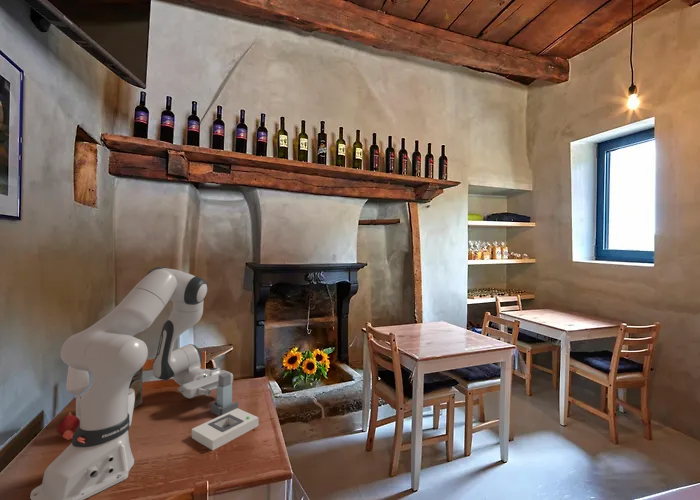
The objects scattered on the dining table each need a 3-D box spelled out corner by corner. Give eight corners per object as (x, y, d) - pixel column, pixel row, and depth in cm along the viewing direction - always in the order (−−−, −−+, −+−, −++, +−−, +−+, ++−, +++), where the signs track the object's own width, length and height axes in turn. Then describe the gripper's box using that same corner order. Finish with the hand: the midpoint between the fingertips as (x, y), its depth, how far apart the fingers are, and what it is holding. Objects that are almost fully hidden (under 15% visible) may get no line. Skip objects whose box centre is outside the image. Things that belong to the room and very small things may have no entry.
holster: (221, 417, 126) (221, 409, 126) (209, 411, 131) (209, 403, 131) (238, 409, 132) (238, 402, 132) (226, 404, 137) (226, 397, 136)
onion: (56, 443, 109) (56, 419, 109) (58, 435, 114) (58, 411, 113) (79, 437, 112) (79, 413, 112) (80, 430, 117) (80, 407, 117)
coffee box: (127, 413, 128) (127, 371, 128) (110, 413, 129) (111, 371, 129) (143, 402, 138) (143, 363, 138) (127, 402, 138) (127, 363, 138)
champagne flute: (84, 424, 121) (84, 357, 121) (61, 426, 119) (61, 359, 119) (93, 415, 127) (93, 351, 127) (72, 417, 125) (71, 353, 125)
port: (212, 450, 106) (212, 439, 106) (191, 437, 113) (191, 427, 112) (258, 425, 120) (258, 416, 120) (237, 416, 127) (237, 407, 127)
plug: (223, 414, 129) (223, 377, 129) (216, 411, 131) (216, 375, 131) (232, 410, 132) (232, 374, 132) (225, 407, 134) (225, 372, 134)
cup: (119, 435, 114) (119, 400, 114) (97, 432, 116) (97, 397, 115) (141, 422, 123) (141, 389, 122) (120, 419, 124) (120, 386, 124)
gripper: (175, 381, 132) (194, 389, 124) (221, 366, 149) (241, 373, 141) (175, 397, 132) (194, 406, 124) (221, 380, 149) (241, 388, 141)
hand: (219, 388), depth 133 cm, fingers open, 8 cm apart
